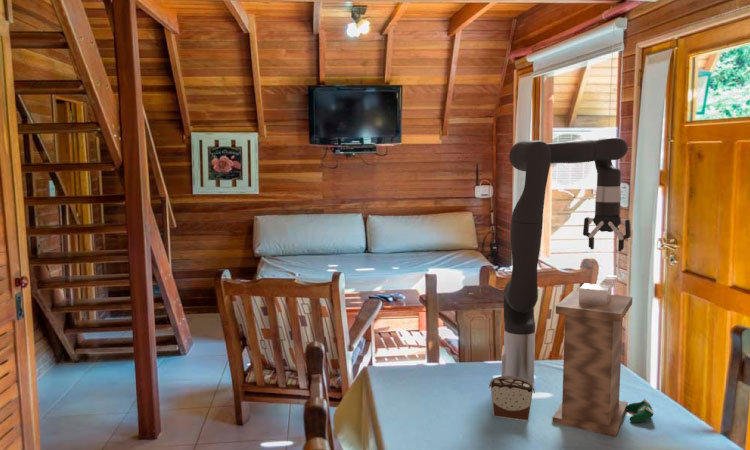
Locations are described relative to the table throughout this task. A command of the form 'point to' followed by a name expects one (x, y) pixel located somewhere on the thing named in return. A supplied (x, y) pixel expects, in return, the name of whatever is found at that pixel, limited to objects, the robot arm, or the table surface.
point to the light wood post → (597, 291)
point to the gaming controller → (640, 411)
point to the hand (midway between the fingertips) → (605, 250)
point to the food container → (511, 397)
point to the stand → (592, 364)
